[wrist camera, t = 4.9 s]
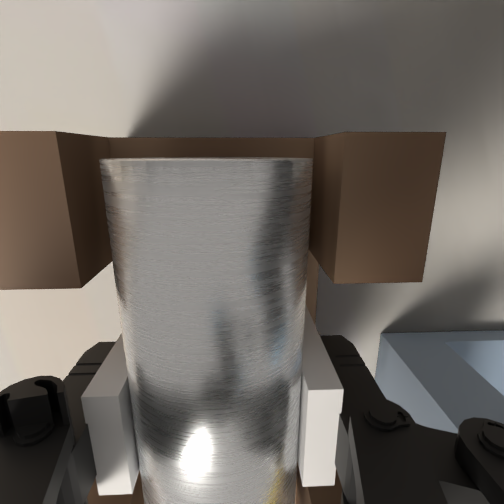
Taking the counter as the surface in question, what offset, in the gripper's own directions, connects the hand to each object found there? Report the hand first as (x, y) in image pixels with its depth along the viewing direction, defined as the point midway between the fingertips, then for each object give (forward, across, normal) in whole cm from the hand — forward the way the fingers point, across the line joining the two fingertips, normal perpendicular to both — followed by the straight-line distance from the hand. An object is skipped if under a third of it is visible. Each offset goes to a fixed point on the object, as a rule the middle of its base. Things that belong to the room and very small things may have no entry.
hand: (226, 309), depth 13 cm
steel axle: (-3, 0, 0) cm, 3 cm away
